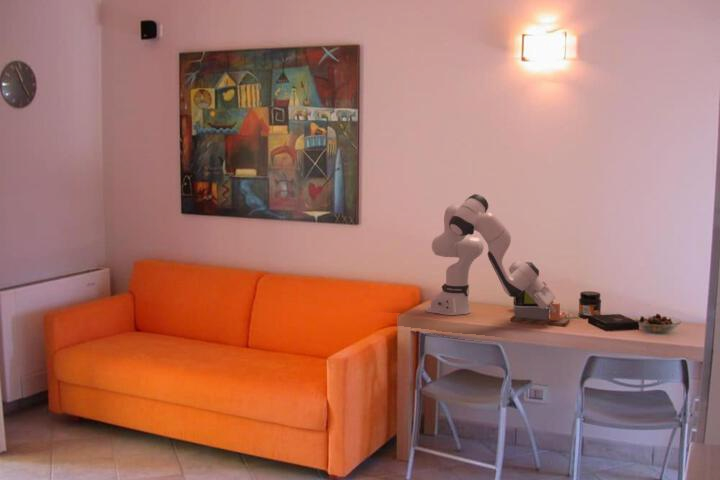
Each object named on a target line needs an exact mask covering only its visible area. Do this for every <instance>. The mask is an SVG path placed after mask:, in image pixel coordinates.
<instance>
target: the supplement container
mask: <svg viewBox="0 0 720 480" xmlns="http://www.w3.org/2000/svg"><path fill="white" fill-rule="evenodd" d="M579 294H580V298H578V316H579V317H580V318H582V319H587V320H588V316H589V315H602V314H601V310H602V309H601V308H602V299H601V293H600V292H597V291H592V290H591V291H587V290H586V291H581V292H580V293H579Z"/></svg>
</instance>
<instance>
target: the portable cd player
mask: <svg viewBox="0 0 720 480" xmlns="http://www.w3.org/2000/svg"><path fill="white" fill-rule="evenodd" d="M587 324H589V325H591V326H594V327H596V328H598V329H600V330H602V331H605V332H610V331H611V332H612V331H613V332H615V331H632V330H639V329H640V325H639V321H637V320H634V319H632V318H630V317H628V316H625V315H623V314H620V313H615V314H611V313H610V314H601V315H589V316H588V319H587Z"/></svg>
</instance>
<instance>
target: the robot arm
mask: <svg viewBox="0 0 720 480" xmlns="http://www.w3.org/2000/svg"><path fill="white" fill-rule="evenodd" d="M488 209H489V202H488V200H487V199H486V198H485V197H484V196H482V195H480V194H478V193H477V194H476V193H474V194H472V195H470V196H469V197H468V198H466V199H465V200H464V202H463V203H462V204H461V205H459V204H451V205H449V206H448V207H446V209H445V212H444V214H443V215H444V216H443V225H444V226H443V227H444V229H443V230H444V231H443V233H440V234H439V235H437V236H435V237H434V238H433V240H432V243H431V250H432V252H433V254H434V255H435V256H438V257H443V258H457V259H458V261H457V262H454V263H453V264H450V265H449V266H448V267H447V268H446V270H445V283H443V284H442V286H441V289H442V291H440V292H439V293H437V295H435V296H434V297H432V299H431V301H430V306H428V307H426V309H425V312H427V313H432V314H439V315H440V314H441V315H447V316H457V315H468V314H471V312H472V311H471V308H470V302H469V295H470V285H469V271H470V268H471V266H472V264H473V263H474V261H475V260H476V259H478V257H480V256H481V255H482V254H483V252H484V247H485V246H484V242H483V240H482V239H481V238H480V237H477V236H472V235H474V232H475V231H476V232H478V233H479V234H480V235H481V237H482V238H483V239H484V241H485V243H486V244H487V248H488V251H487V257H488V260H489V262H490V264H491V266H492V269H493V270H494V272H495V273H496V276H497V279H498V280H499V282H500V284H501V287H502V288H503V291H504V292H505V294H506V295H507V296H508V297H511V298H512V297H513V298H514V297H518V296H519V295H520V294H521V293H522V292H523V291H524V290H525V291H526V292H527V293H528V295H529V296H530V297H531V298H532V297H533V296H534V297H533V299H534V301H535V302H536V303H537V304H538V306H539V307H540V308H541V309H544V308H547V309H549V311H550V310H551V311H552V312H553V313H555V312H556V311H557V310H556V309H555V308H554V307H553V306H552V305H551V304H550V303H555V302H554V301H555V299H556V296H555V294H554V293H553V292H552V291H551V290H550V288H549V287H548V286H547V285H548V284H547V283H546V282H545V281H542V280H541V279H540V278H539V275H540V270H539V269H538V268H537V266H535V264H533V262H530V261H525V262H523V261H522V260H521V259H518V260H515V261H514V262H513V263H512V264H511V265H509V266H510V267H509V268H508V272H509V275H508V273H507V271H506V269H505V267H504V265H503V259H504V256H505V254H506V253H507V251H508V249H509V248H510V245H511V241H512V240H511V239H512V237H511V234H510V232H509V230H508V229H507V227H506V226H505V225H504V224H503V222H502V221H501V220H500V219H499V218H498V217H497V216H496V215H494V214H493V212H487V211H488Z"/></svg>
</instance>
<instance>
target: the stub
mask: <svg viewBox="0 0 720 480" xmlns="http://www.w3.org/2000/svg"><path fill="white" fill-rule="evenodd" d="M550 304H551V305H552V306H553V307H554V308H555V309H556V310H557V311H556V312H555V313H553V312H552V311H551V310H549V317H550V320H555V321H559V318H560V315H561V314H560V313H561V312H560V311H561V303H559V302H554V303H550Z"/></svg>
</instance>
